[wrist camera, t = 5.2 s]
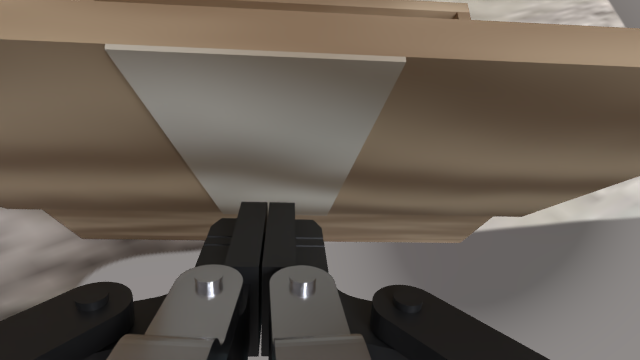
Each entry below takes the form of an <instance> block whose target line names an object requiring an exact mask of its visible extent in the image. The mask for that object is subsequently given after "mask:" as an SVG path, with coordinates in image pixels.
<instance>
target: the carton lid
mask: <svg viewBox="0 0 640 360" xmlns="http://www.w3.org/2000/svg"><path fill="white" fill-rule="evenodd" d="M638 176H640V29H638V28H618V27H598V26H579V25H559V24H539V23H520V22H500V21H480V20H461V19H441V18H421V17H402V16H382V15H362V14H343V13H323V12H303V11H284V10H264V9H244V8H224V7H205V6H185V5H165V4H146V3H126V2H106V1H87V0H0V207H3V208H6V209H56V210H121V211H185V212H222V213H223V214H238V213H239V209H240V205H241V202H267V203H268V211H269V202H288V203H295V215H313V216H327V214H379V215H444V216H508V217H522V216H525V215H528V214H531V213H534V212H536V211H539V210H542V209H545V208H548V207H551V206H554V205H557V204H560V203H563V202H565V201H568V200H571V199H574V198H577V197H580V196H583V195H586V194H589V193H591V192H594V191H597V190H600V189H603V188H606V187H609V186H612V185H615V184H618V183H620V182H623V181H626V180H629V179H632V178H635V177H638Z"/></svg>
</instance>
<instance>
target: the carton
mask: <svg viewBox="0 0 640 360" xmlns="http://www.w3.org/2000/svg"><path fill="white" fill-rule="evenodd" d="M87 1H106V2H126V3H146V4H165V5H185V6H205V7H224V8H244V9H264V10H284V11H303V12H323V13H343V14H362V15H382V16H402V17H421V18H441V19H461V20H471V18H470V13H469V8H468V4H467V3H451V2H433V1H414V0H87ZM42 210H44V211H45V212H46V213H48V214H49V215H50V216H52V217H53V218H55V219H56V220H57V221H59V222H60V223H61V224H63V225H64V226H65V227H67V228H68V229H70V230H71V231H72V232H74V233H75V234H76V235H78V236H79V237H80V238H82V239H148V240H206V238H207V235H208V232H209V230H210V227H211V226H212V225H213V224H214V223H216V222H217V221H218V220H220V219H221V218H237V216H238V214H223V213H222V212H185V211H121V210H56V209H42ZM492 217H493V216H444V215H379V214H327V216H313V215H295V219H306V220H314V221H315V222H316V223H317V224H318V225H319V226H320V227H321V228H322V233H323V240H324V241H337V242H433V243H460V242H462V241H463V240H464V239H466V238H467V237H468V236H469V235H470V234H472V233H473V232H474V231H475V230H477V229H478V228H479V227H480V226H482V225H483V224H484V223H485V222H487V221H488V220H489V219H490V218H492Z"/></svg>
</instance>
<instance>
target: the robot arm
mask: <svg viewBox="0 0 640 360" xmlns="http://www.w3.org/2000/svg"><path fill="white" fill-rule="evenodd" d="M261 324H262V342H261V343H262V345H261V346H262V348H261V351H262V353H261V356H269V360H549V359H548V358H546V357H544V356H542V355H540V354H539V353H537V352H535V351H533V350H531V349H529V348H528V347H526V346H524V345H522V344H521V343H519V342H517V341H515V340H513V339H511V338H510V337H508V336H506V335H504V334H502V333H501V332H499V331H497V330H495V329H493V328H491V327H490V326H488V325H486V324H484V323H482V322H481V321H479V320H477V319H475V318H473V317H471V316H470V315H468V314H466V313H464V312H463V311H461V310H459V309H457V308H455V307H454V306H452V305H450V304H448V303H446V302H445V301H443V300H441V299H439V298H437V297H435V296H434V295H432V294H430V293H428V292H426V291H424V290H422V289H419V288H416V287H412V286H406V285H391V286H387V287H384V288H381V289H380V290H378V291H377V292H376V293H375V294H374V296H373V300H372V301H368V300H364V299H359V298H355V297H352V296H349V295H347V294H345V293H342V292H341V291H339V290H338V289H337V287H336V284H335V281H334V279H333V277H332V276H331V275H330V274H329V273H328V267H327V260H326V253H325V247H324V240H323V233H322V228H321V227H320V226H319V225H318V224H317V223H316V222H315V221H314V220H306V219H295V203H288V202H269V211H268V203H267V202H241V205H240V209H239V213H238V216H237V218H221V219H220V220H218V221H217V222H216V223H214V224H213V225H212V226H211V227H210V230H209V232H208V235H207V238H206V240H205V243H204V246H203V248H202V250H201V253H200V256H199V258H198V261H197V263H196V266H195V268H192V269H189V270H187V271H185V272H184V273H182V274H181V275H180V276H179V277H178V278H177V279H176V281H175V283H174V284H173V286H172V288H171V289H170V291H169V293H168V294H167V295H163V296H160V297H155V298H150V299H145V300H139V301H134V302H133V297H132V292H131V290H130V289H129V288H128V287H126V286H125V285H123V284H119V283H114V282H97V283H91V284H87V285H83V286H80V287H77V288H75V289H72V290H70V291H68V292H66V293H63V294H61V295H59V296H57V297H54V298H52V299H50V300H48V301H45V302H43V303H41V304H39V305H36V306H34V307H32V308H30V309H27V310H25V311H23V312H21V313H18V314H16V315H14V316H12V317H9V318H7V319H5V320H3V321H0V360H248V356H258V355H259V345H260V335H261Z"/></svg>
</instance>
